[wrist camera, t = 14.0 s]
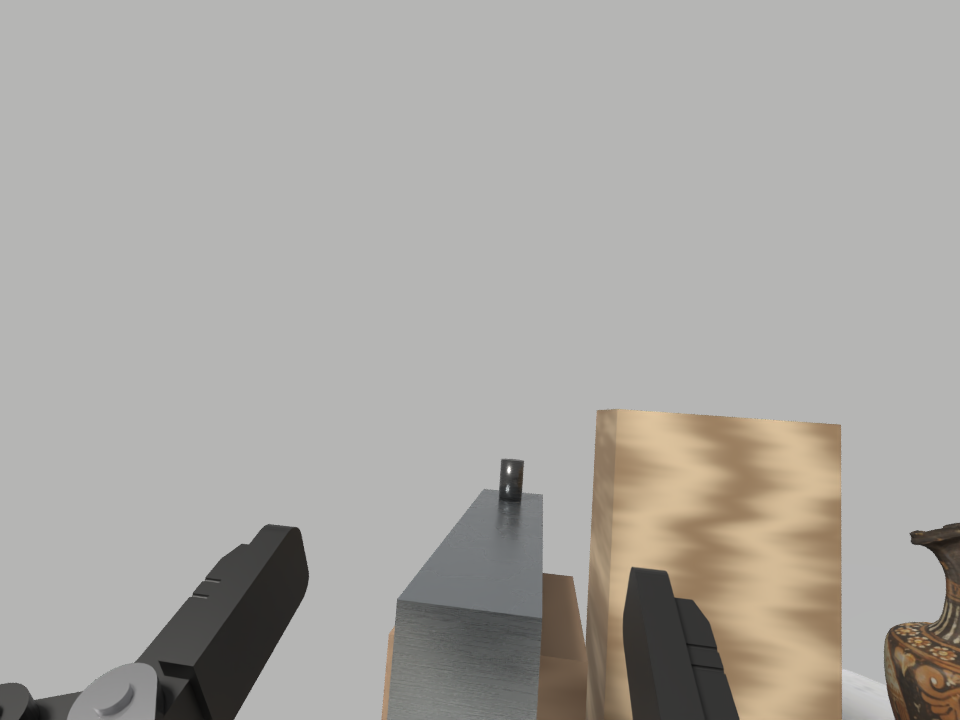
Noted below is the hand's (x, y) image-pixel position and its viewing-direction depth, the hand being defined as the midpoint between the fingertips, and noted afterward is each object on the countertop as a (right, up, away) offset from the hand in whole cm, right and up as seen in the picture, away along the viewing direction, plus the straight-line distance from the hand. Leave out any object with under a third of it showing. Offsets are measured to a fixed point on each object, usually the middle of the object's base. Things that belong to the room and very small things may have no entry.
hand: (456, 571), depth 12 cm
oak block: (+13, -30, +18) cm, 38 cm away
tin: (+1, -7, +11) cm, 13 cm away
